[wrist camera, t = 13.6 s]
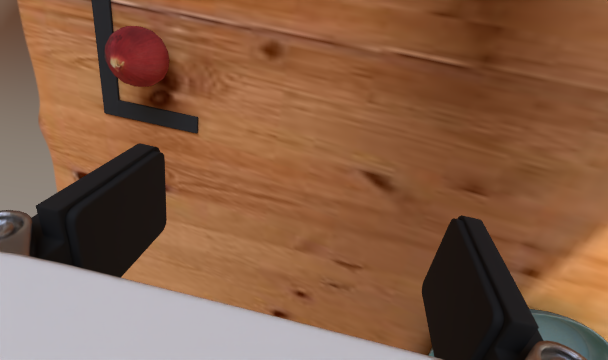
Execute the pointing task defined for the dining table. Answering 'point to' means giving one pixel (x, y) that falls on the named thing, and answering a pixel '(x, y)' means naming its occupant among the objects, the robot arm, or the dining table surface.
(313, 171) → the dining table surface
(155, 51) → the onion
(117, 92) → the bay
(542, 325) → the saucer
